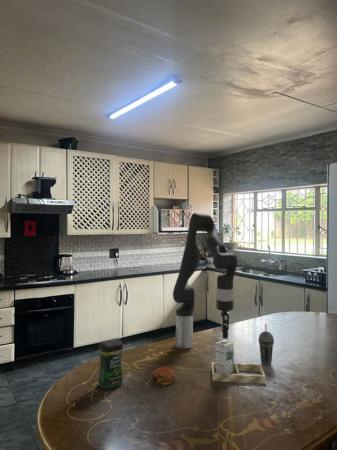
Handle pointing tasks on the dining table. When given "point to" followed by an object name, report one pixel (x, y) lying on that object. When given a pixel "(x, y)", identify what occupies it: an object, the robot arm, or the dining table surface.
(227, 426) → the dining table surface
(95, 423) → the dining table surface
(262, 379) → the wooden frame
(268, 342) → the beverage cup
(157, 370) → the burger
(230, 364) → the syrup box
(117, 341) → the coffee jar
